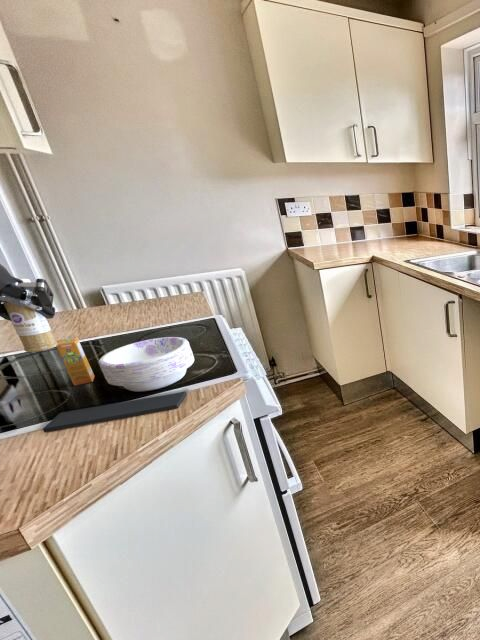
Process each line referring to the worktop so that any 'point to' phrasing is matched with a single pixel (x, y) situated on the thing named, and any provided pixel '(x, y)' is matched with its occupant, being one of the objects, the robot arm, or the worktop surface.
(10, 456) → the worktop surface
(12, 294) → the robot arm
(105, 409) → the strip
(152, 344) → the paper bowls
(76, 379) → the supplement box
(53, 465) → the worktop surface
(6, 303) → the sprinkles bottle
